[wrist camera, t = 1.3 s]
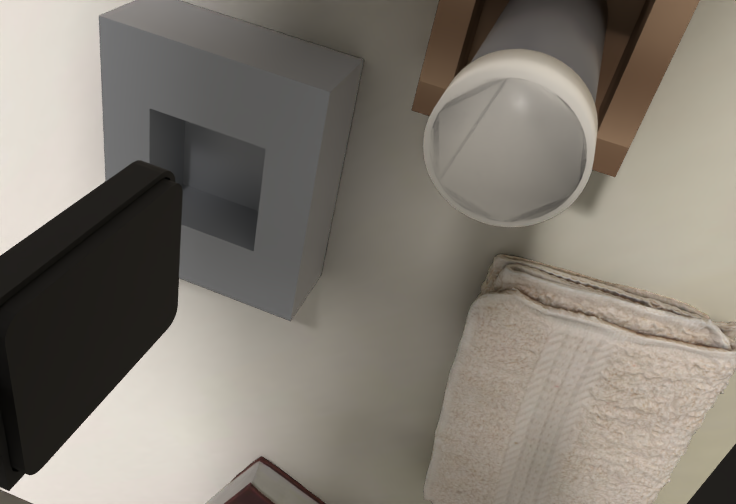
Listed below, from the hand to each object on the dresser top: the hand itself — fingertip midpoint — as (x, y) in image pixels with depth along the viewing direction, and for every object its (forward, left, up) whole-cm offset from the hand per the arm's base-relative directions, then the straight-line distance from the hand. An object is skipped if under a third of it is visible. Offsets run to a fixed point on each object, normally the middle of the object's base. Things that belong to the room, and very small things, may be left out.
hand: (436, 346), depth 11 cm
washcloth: (+19, +7, -20) cm, 28 cm away
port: (+10, -12, -19) cm, 25 cm away
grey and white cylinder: (0, 0, -19) cm, 19 cm away
